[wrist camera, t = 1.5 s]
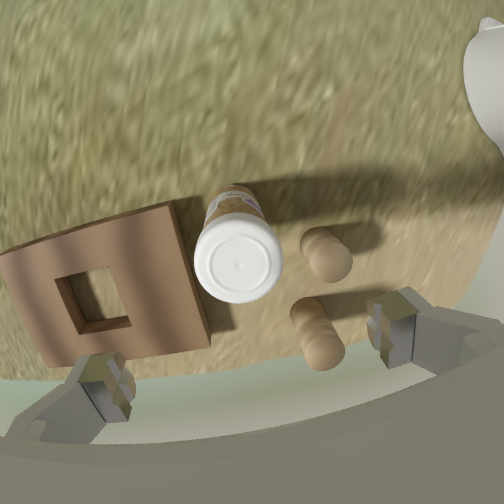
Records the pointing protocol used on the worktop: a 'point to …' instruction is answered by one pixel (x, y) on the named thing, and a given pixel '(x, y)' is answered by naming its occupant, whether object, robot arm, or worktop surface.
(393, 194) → the worktop surface
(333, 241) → the short beech dowel
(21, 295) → the walnut board
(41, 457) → the robot arm
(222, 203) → the sprinkles bottle
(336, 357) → the medium beech dowel
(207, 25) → the worktop surface
